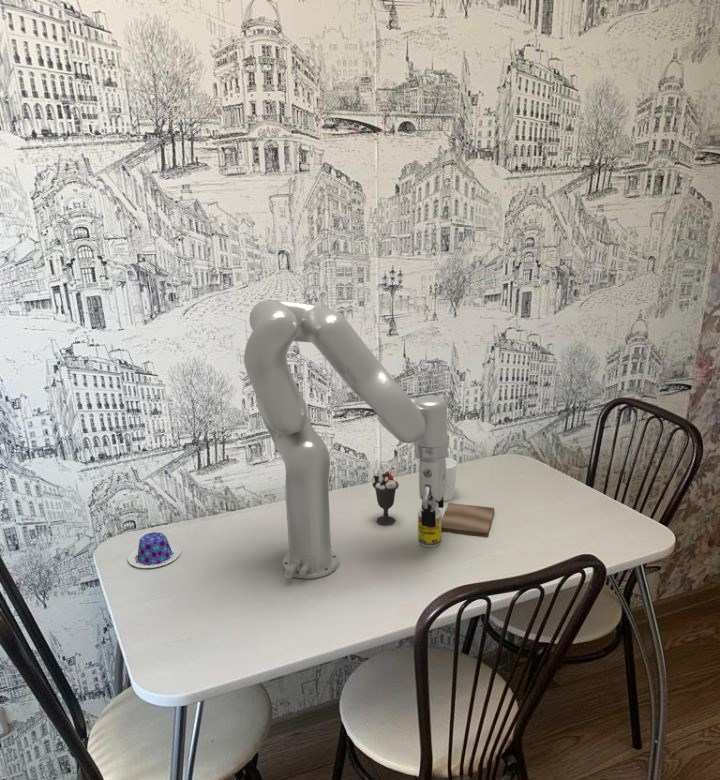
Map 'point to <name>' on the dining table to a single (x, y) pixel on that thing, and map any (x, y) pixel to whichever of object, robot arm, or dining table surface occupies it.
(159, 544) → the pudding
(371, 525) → the dining table surface
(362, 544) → the dining table surface
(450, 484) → the white cup
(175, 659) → the dining table surface
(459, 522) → the walnut board
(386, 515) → the sundae
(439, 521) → the supplement bottle
